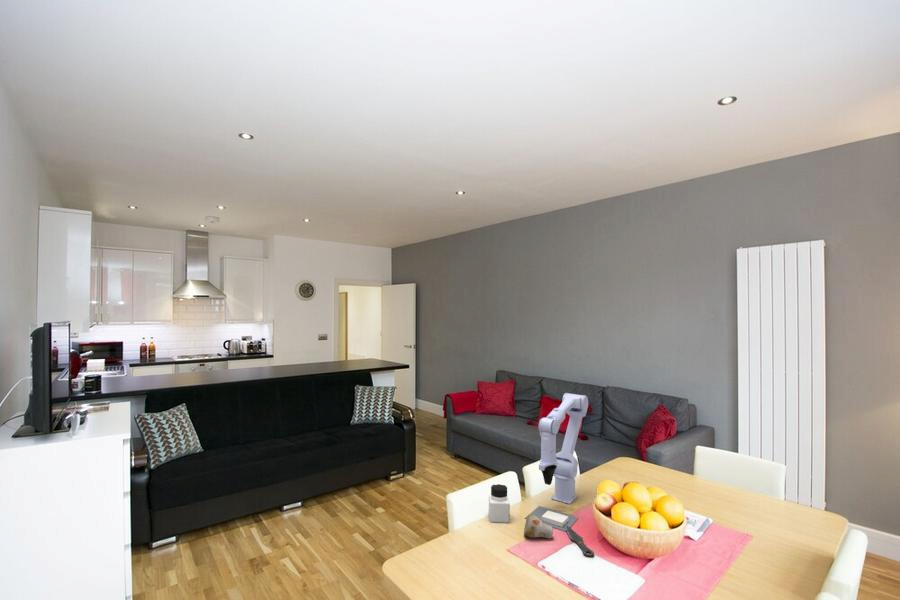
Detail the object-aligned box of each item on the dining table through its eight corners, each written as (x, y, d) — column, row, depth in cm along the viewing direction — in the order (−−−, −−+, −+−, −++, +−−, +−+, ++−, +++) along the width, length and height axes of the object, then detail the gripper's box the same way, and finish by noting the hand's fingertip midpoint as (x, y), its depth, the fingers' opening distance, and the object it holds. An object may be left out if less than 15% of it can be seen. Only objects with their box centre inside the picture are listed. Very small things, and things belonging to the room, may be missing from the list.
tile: (548, 510, 160) (541, 516, 155) (568, 516, 155) (562, 522, 151) (548, 515, 160) (541, 521, 155) (568, 521, 155) (562, 527, 150)
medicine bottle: (509, 522, 154) (509, 489, 154) (489, 522, 154) (490, 489, 155) (507, 513, 161) (507, 482, 162) (488, 513, 161) (489, 481, 162)
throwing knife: (584, 557, 132) (584, 555, 132) (558, 525, 152) (559, 523, 152) (597, 556, 133) (597, 554, 133) (570, 524, 152) (570, 523, 152)
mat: (539, 506, 168) (539, 505, 168) (578, 518, 158) (578, 517, 158) (524, 518, 157) (524, 517, 157) (566, 532, 148) (566, 531, 148)
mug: (556, 544, 140) (542, 519, 140) (530, 552, 143) (516, 527, 143) (556, 528, 147) (543, 504, 147) (531, 535, 150) (518, 512, 150)
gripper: (551, 455, 158) (551, 492, 158) (564, 446, 170) (564, 480, 170) (533, 451, 162) (533, 487, 162) (547, 443, 174) (547, 476, 174)
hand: (548, 483), depth 166 cm, fingers closed
